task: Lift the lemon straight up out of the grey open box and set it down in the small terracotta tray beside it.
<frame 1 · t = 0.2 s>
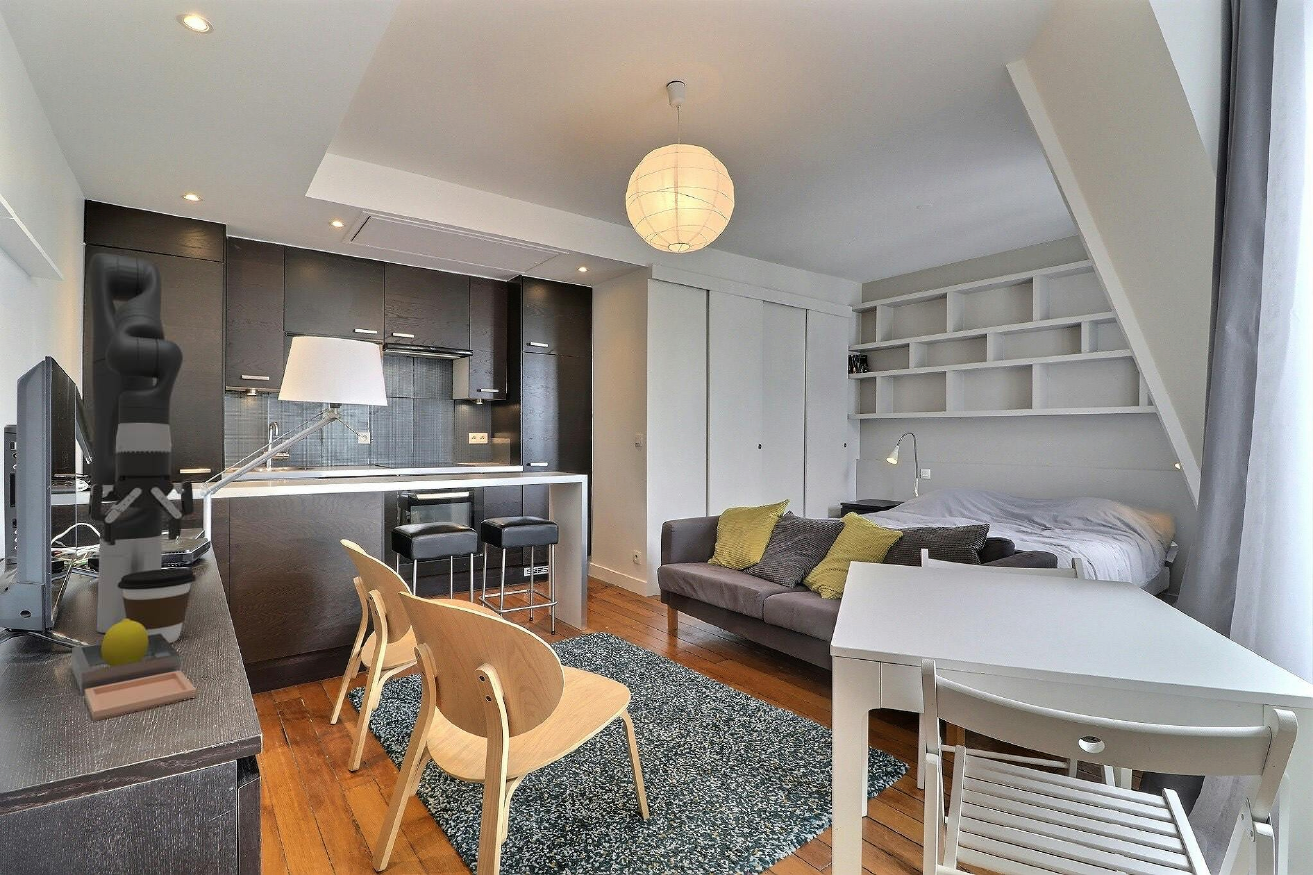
hand: (142, 542, 110), 18 cm above the tv stand, tool pointing down, fingers open, 8 cm apart
grey open box: (124, 671, 97), on the tv stand
coffee cup: (156, 642, 111), on the tv stand
lemon: (124, 672, 97), resting in grey open box
tray: (140, 697, 86), on the tv stand
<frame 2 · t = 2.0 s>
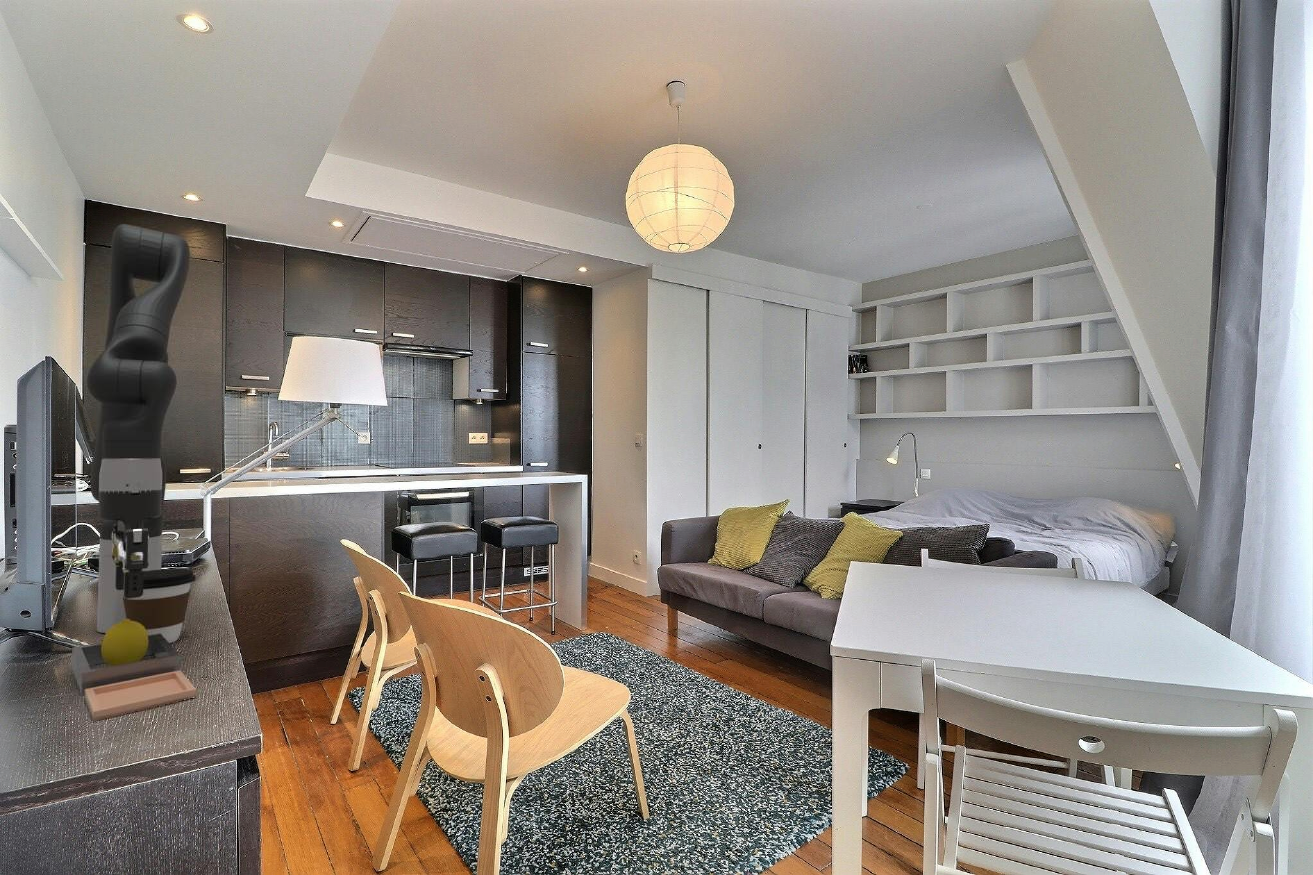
hand: (128, 593, 97), 12 cm above the tv stand, tool pointing down, fingers open, 8 cm apart
nothing on the tv stand moved.
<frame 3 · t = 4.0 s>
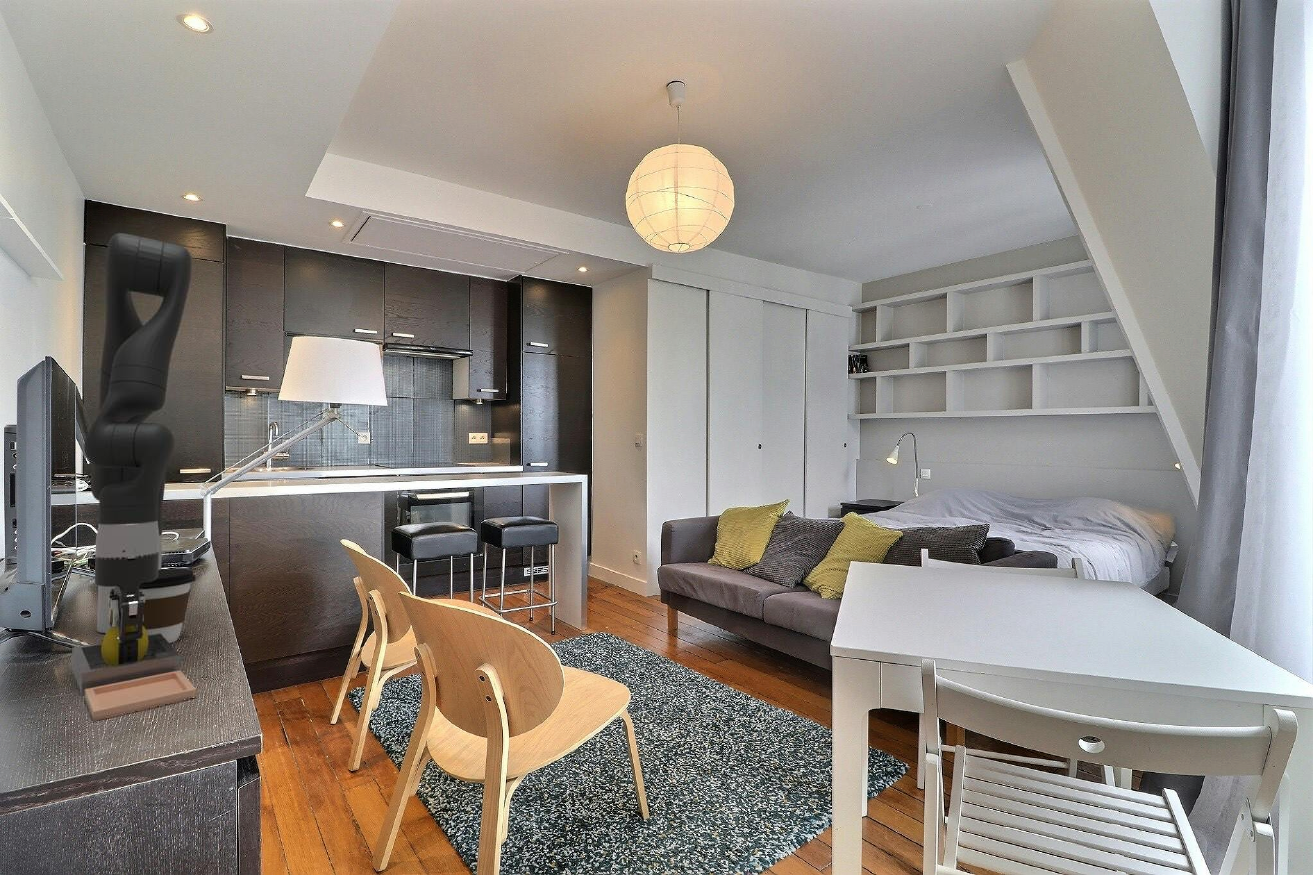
hand: (124, 661, 97), 2 cm above the tv stand, tool pointing down, fingers closed on lemon, 5 cm apart
lemon: (124, 672, 97), resting in grey open box, touching gripper
everything else where it was.
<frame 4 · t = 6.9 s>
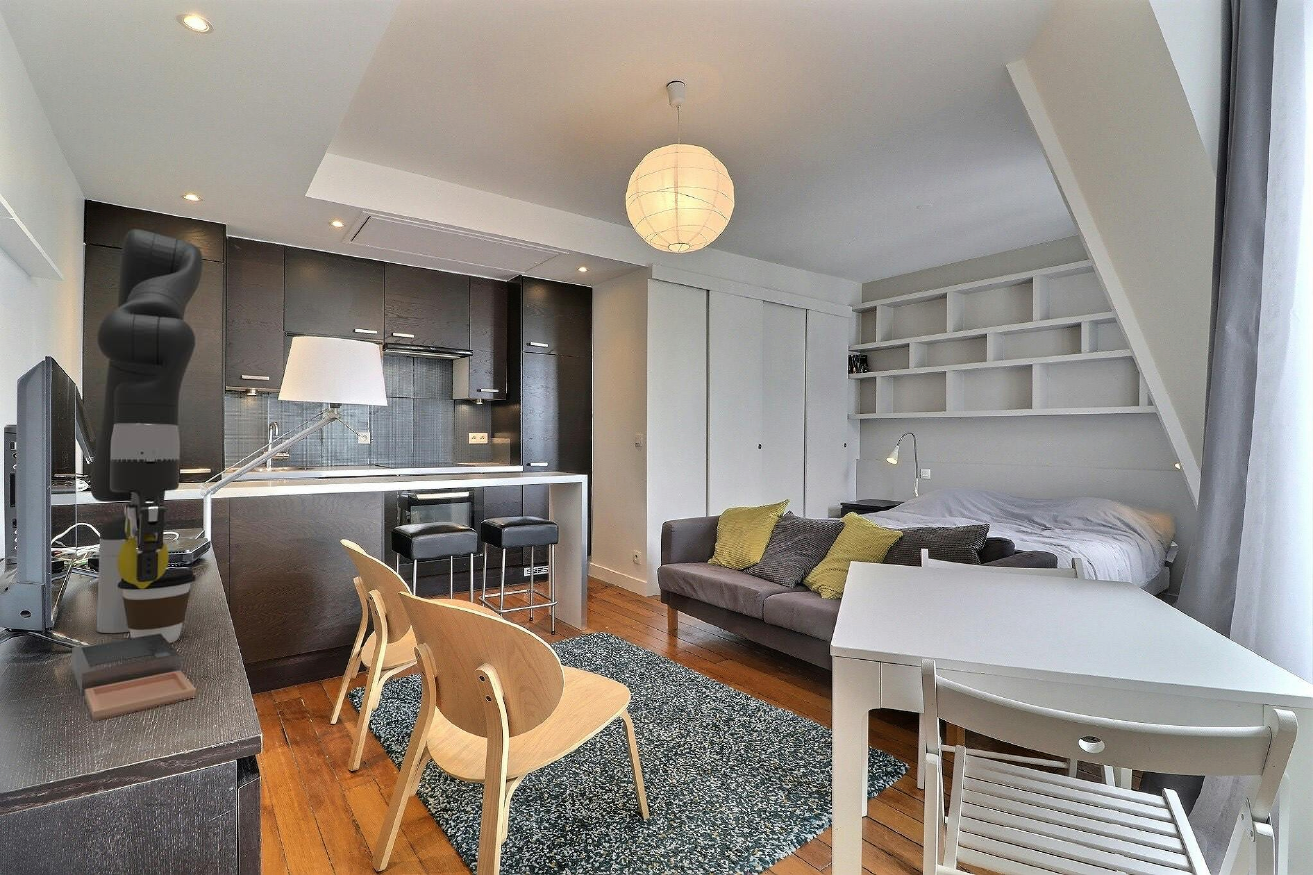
hand: (143, 577, 88), 16 cm above the tv stand, tool pointing down, fingers closed on lemon, 5 cm apart
lemon: (142, 590, 88), point 15 cm above the tv stand, touching gripper
everything else where it was.
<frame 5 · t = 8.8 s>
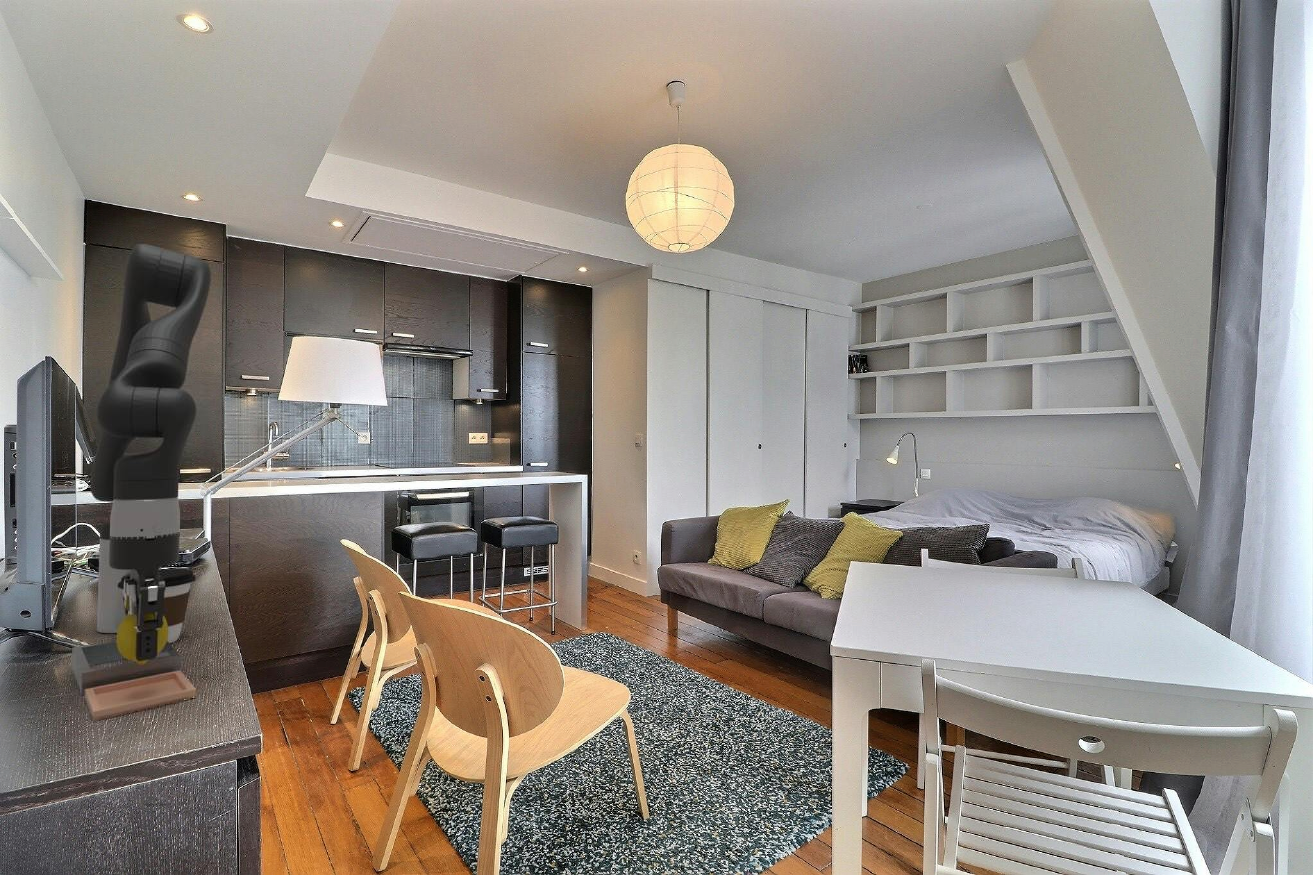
hand: (142, 653, 87), 6 cm above the tv stand, tool pointing down, fingers closed on lemon, 5 cm apart
lemon: (142, 665, 87), point 4 cm above the tv stand, touching gripper
everything else where it was.
when the fingers open (3 cm above the tv stand, at t = 10.3 s): lemon drops 1 cm, resting on tray.
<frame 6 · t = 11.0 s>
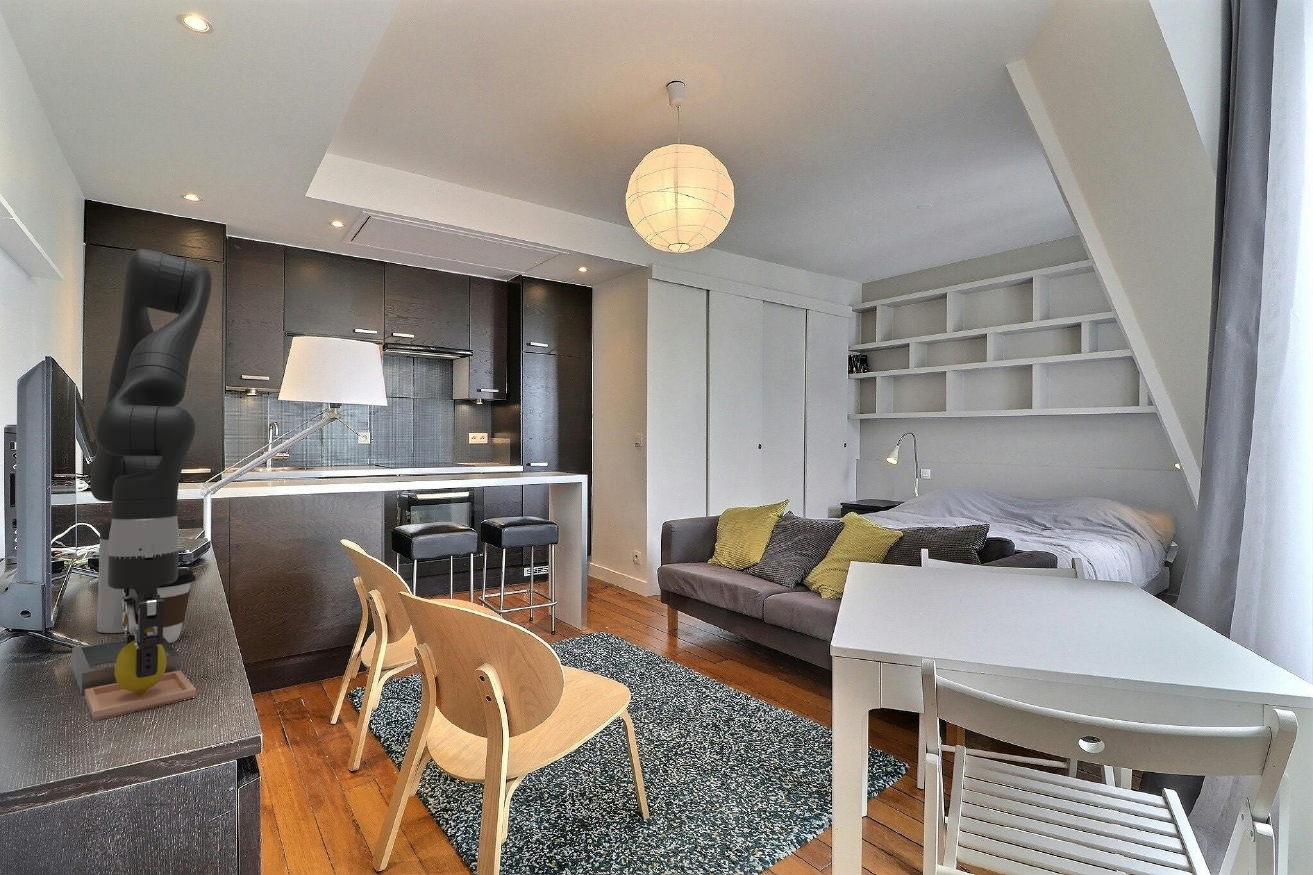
hand: (141, 667, 87), 4 cm above the tv stand, tool pointing down, fingers open, 8 cm apart
lemon: (140, 696, 87), resting on tray
everything else where it was.
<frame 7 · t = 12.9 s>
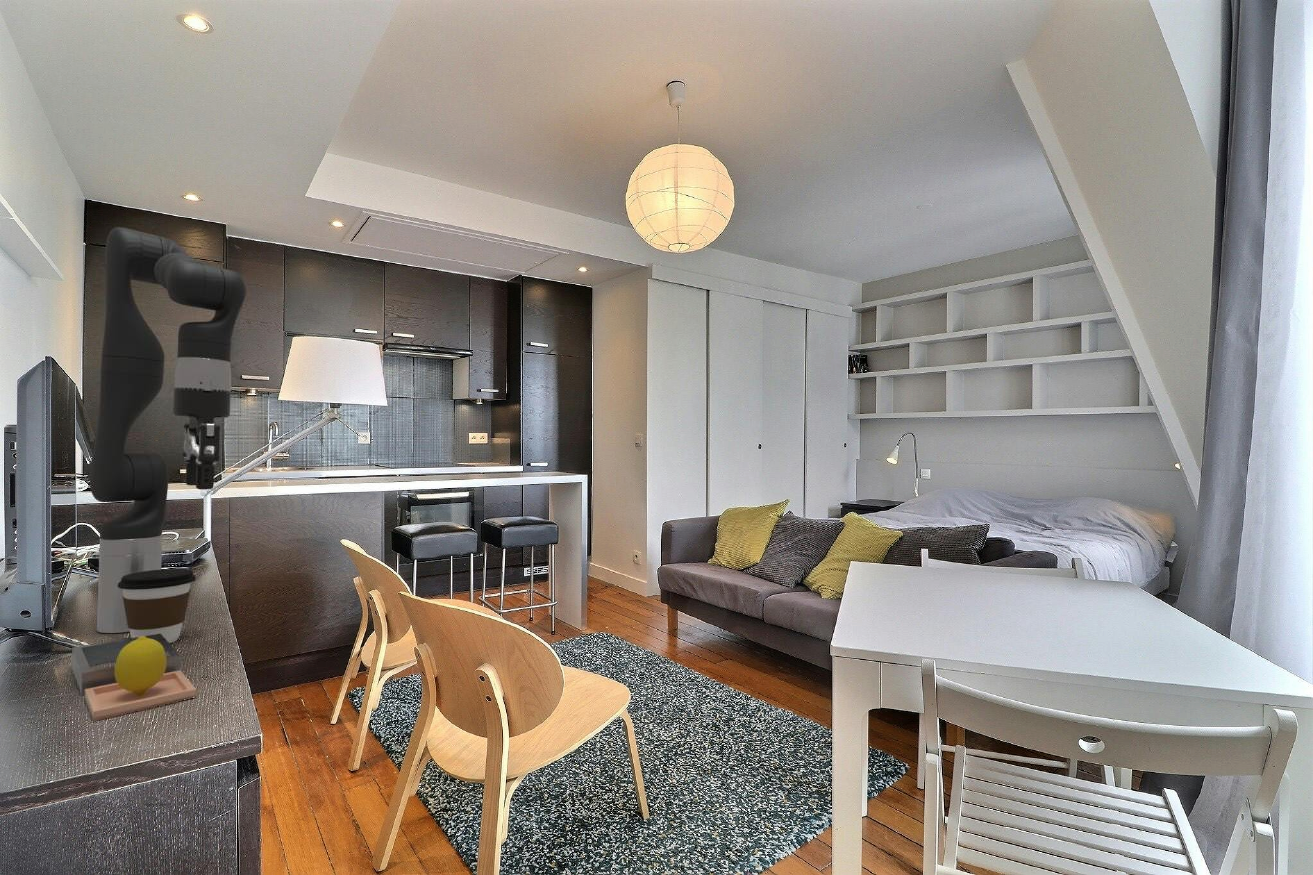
hand: (199, 487, 102), 28 cm above the tv stand, tool pointing down, fingers open, 8 cm apart
nothing on the tv stand moved.
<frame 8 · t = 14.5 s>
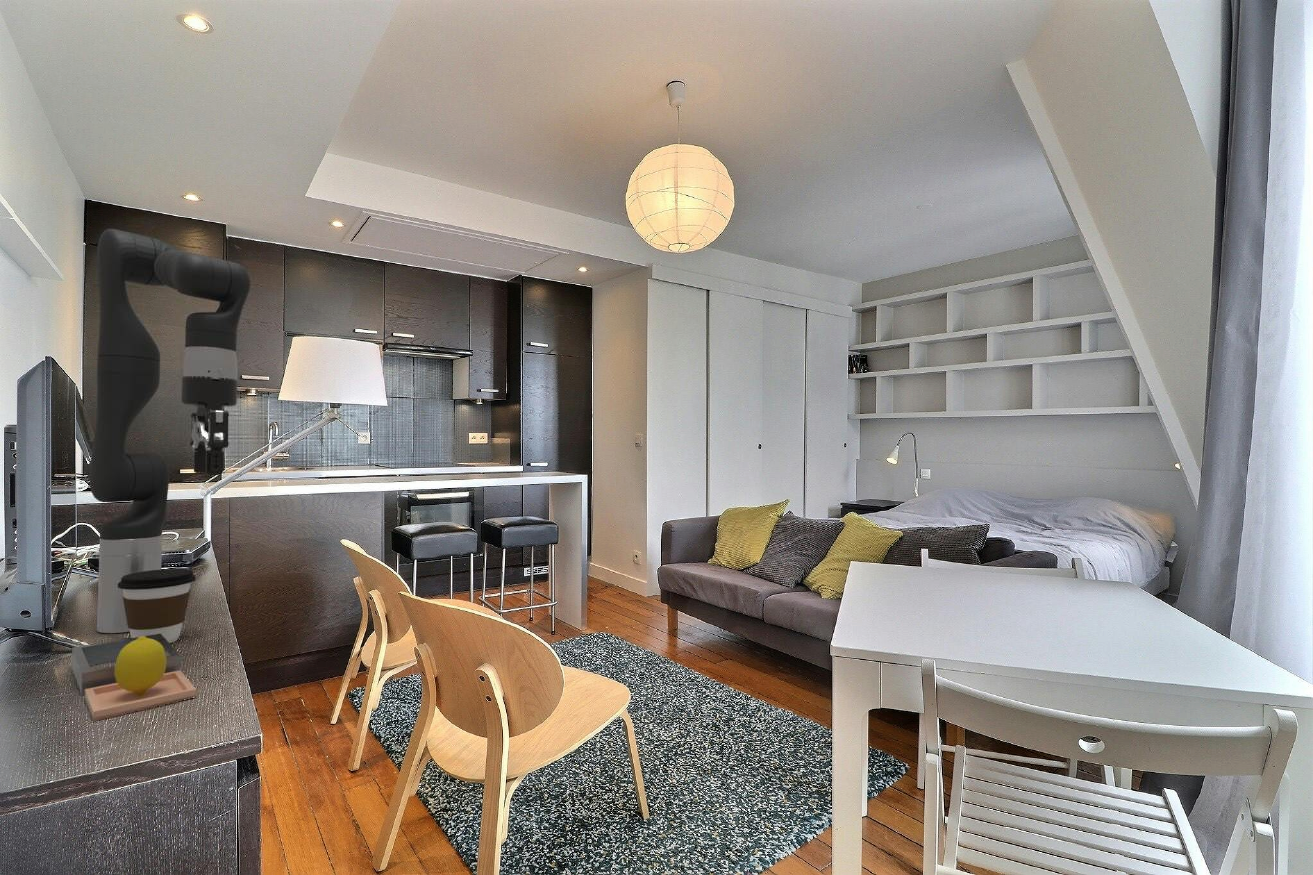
hand: (207, 474, 105), 30 cm above the tv stand, tool pointing down, fingers open, 8 cm apart
nothing on the tv stand moved.
at the end: lemon inside the target area on the tray (0.1 cm from its centre), point 0.2 cm above the tray's base; lemon touching tray; the gripper is holding nothing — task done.
